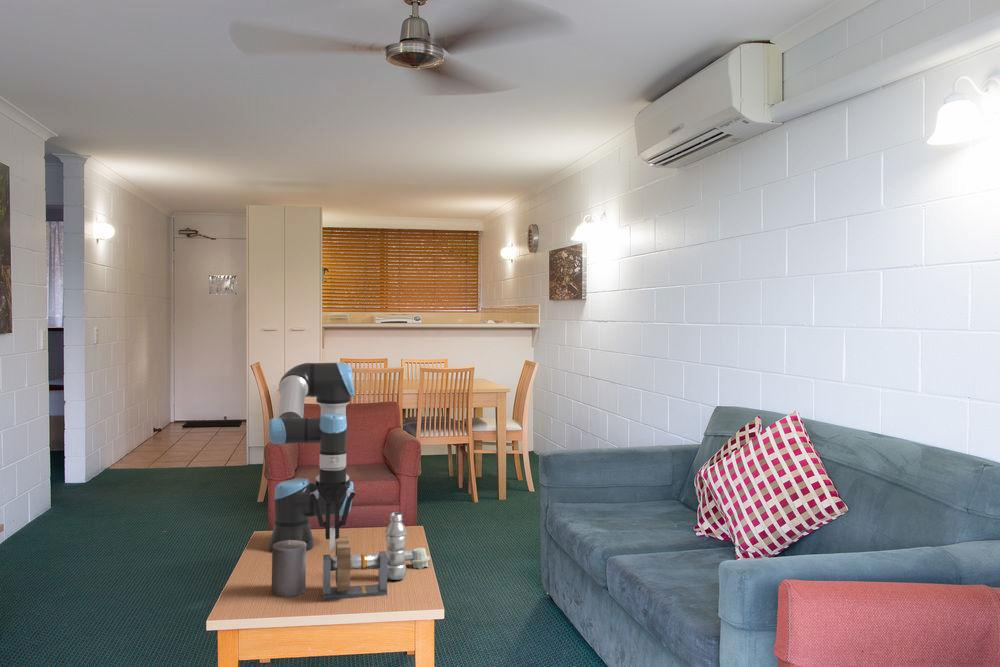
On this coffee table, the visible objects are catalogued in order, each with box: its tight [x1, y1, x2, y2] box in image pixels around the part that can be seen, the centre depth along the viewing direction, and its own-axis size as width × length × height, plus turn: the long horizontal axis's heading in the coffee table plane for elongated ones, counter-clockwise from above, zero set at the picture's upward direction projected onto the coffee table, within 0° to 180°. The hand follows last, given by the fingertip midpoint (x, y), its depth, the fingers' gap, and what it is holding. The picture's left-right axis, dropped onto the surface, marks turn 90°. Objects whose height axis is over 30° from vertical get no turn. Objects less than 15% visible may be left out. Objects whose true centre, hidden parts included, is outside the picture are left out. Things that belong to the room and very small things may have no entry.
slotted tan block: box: [334, 536, 351, 591], centre depth 225 cm, size 12×4×12 cm, turn 15°
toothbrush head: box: [377, 547, 431, 570], centre depth 251 cm, size 5×7×25 cm
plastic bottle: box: [385, 512, 408, 581], centre depth 239 cm, size 6×7×20 cm
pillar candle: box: [271, 540, 307, 598], centre depth 227 cm, size 10×10×15 cm
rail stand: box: [322, 550, 388, 601], centre depth 226 cm, size 7×18×11 cm, turn 105°
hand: (332, 550), depth 224 cm, fingers closed
